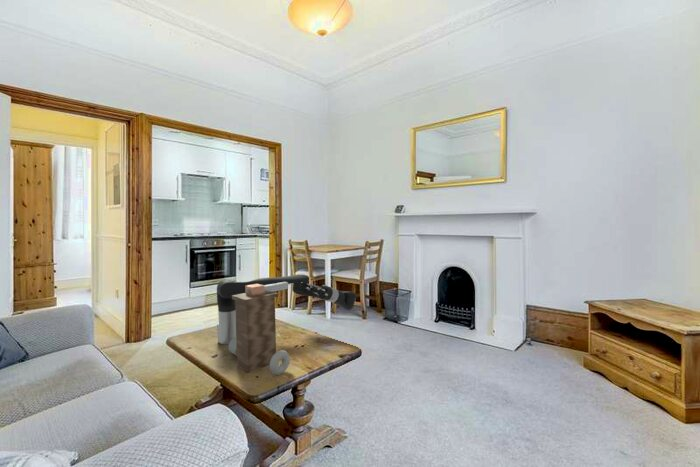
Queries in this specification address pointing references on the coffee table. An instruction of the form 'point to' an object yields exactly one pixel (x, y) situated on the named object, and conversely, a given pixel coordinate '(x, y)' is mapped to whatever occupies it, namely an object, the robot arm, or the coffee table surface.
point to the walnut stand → (255, 330)
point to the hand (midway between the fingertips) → (305, 286)
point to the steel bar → (264, 288)
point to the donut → (275, 359)
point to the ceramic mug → (233, 346)
